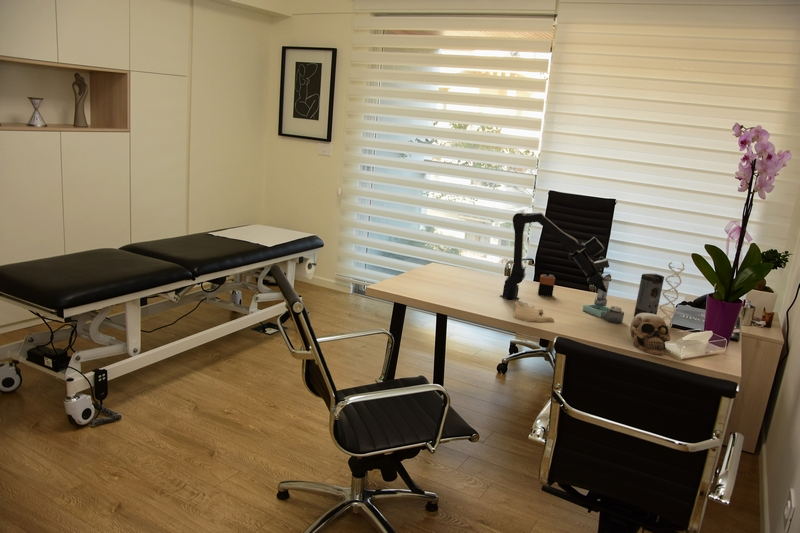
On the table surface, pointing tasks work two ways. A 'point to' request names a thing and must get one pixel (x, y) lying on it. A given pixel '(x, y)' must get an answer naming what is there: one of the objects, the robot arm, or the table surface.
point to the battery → (546, 285)
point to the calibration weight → (614, 315)
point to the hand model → (530, 313)
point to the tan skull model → (649, 333)
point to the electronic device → (649, 294)
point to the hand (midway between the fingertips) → (606, 290)
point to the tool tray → (596, 310)
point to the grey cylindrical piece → (602, 293)
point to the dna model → (671, 289)
